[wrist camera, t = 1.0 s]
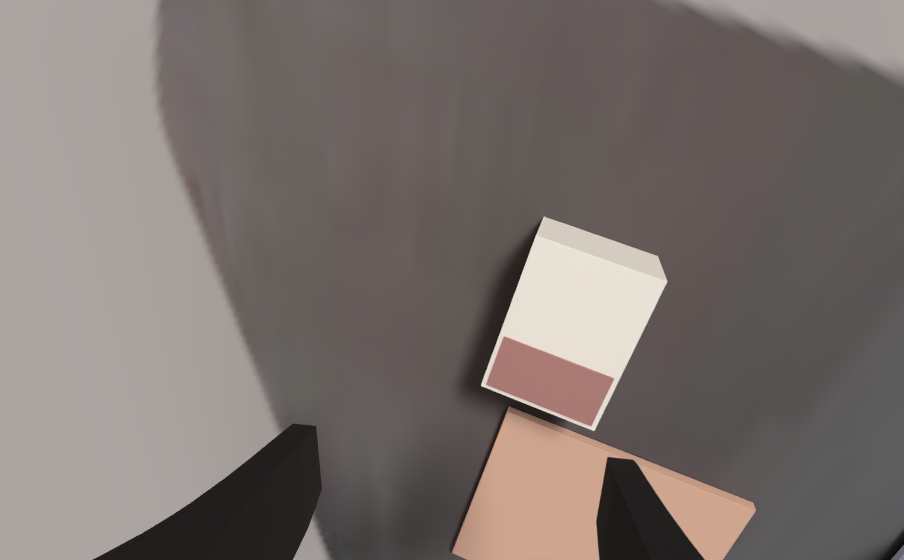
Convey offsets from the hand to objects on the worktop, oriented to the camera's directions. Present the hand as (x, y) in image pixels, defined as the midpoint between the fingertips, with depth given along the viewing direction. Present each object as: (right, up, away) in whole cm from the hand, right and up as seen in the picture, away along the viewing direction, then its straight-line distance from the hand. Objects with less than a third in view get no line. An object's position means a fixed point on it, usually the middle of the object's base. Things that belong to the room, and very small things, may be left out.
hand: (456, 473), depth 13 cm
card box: (+5, +4, +11) cm, 13 cm away
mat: (+7, -8, +14) cm, 18 cm away
